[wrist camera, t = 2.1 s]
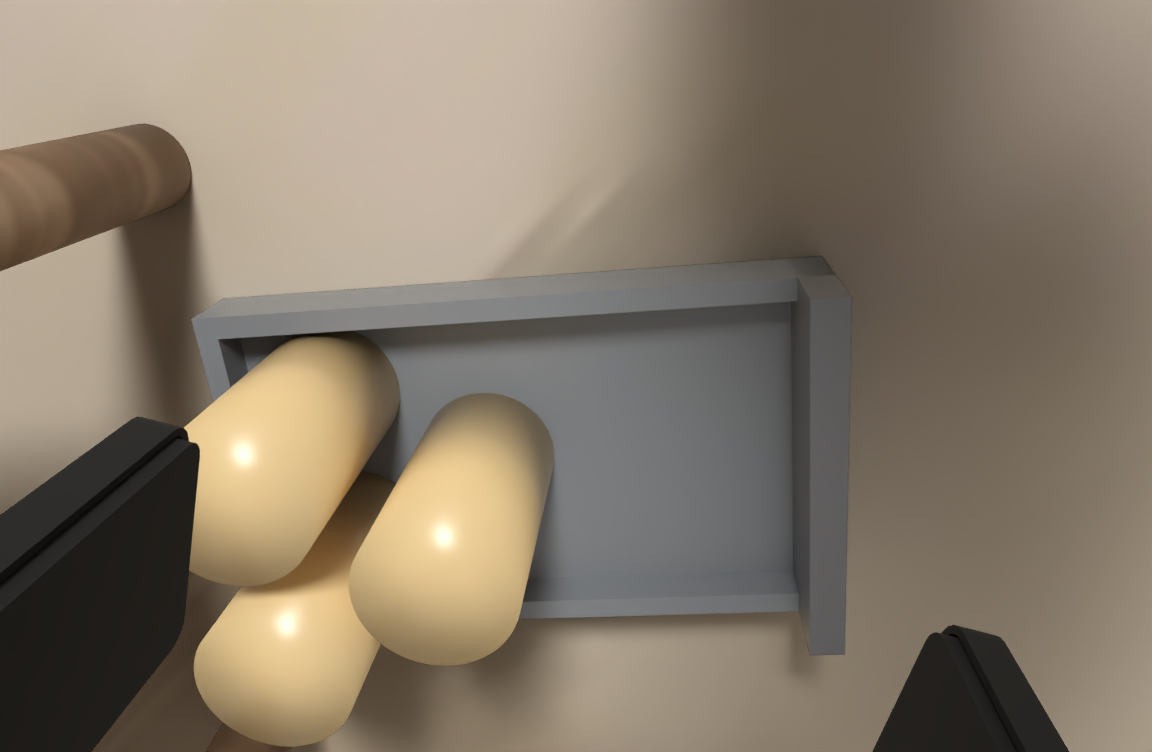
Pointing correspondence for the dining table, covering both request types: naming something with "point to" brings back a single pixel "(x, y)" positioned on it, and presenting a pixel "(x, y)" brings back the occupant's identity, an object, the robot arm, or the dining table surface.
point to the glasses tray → (609, 408)
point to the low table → (94, 219)
